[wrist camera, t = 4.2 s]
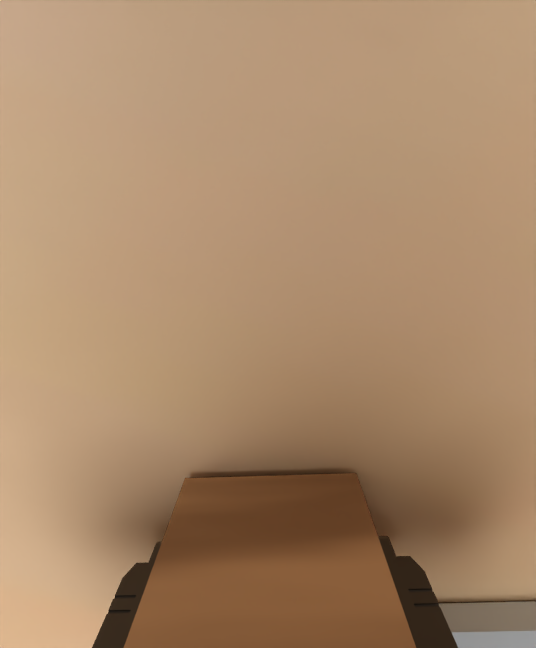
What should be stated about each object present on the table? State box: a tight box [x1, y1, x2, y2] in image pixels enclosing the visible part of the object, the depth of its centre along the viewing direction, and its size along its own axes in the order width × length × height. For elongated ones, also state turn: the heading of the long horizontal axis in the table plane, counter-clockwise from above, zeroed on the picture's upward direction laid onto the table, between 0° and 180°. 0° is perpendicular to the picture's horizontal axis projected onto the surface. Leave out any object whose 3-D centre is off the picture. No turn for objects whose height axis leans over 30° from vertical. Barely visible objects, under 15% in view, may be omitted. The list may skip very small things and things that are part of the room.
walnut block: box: [124, 473, 416, 648], centre depth 10 cm, size 4×5×6 cm
